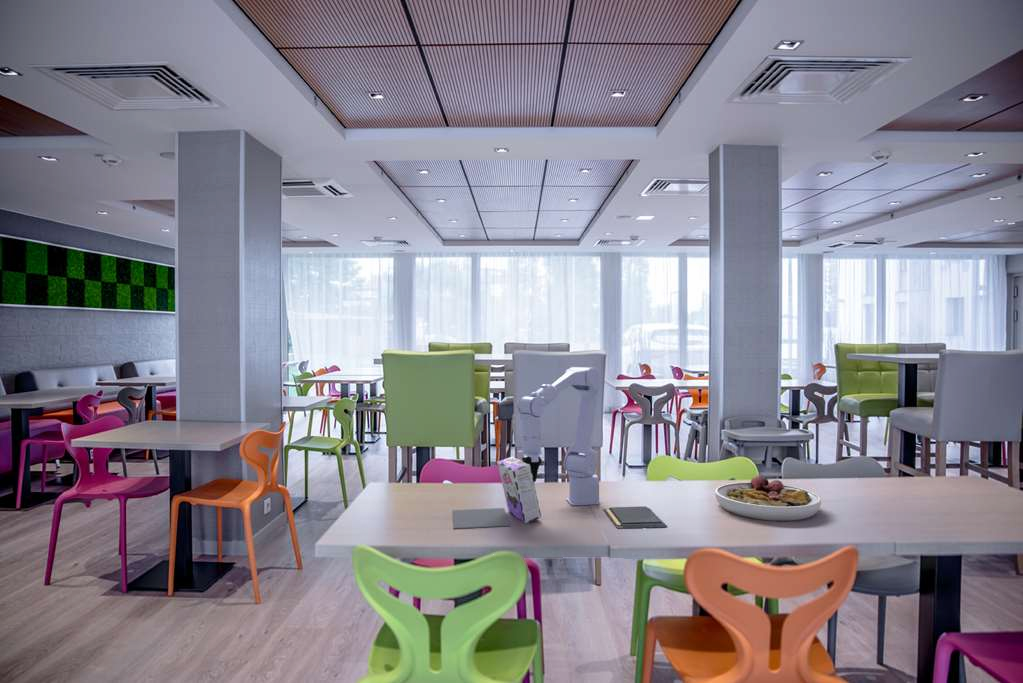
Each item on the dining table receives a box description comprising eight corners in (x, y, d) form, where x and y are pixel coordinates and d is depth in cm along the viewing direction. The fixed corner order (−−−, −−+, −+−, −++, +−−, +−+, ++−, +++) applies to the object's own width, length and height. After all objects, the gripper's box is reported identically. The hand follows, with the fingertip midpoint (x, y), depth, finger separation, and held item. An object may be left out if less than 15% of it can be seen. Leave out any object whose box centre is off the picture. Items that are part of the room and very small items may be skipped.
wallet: (668, 523, 168) (614, 524, 168) (668, 530, 168) (614, 531, 168) (650, 504, 188) (602, 505, 188) (650, 510, 188) (602, 511, 188)
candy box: (508, 511, 186) (496, 461, 185) (525, 505, 188) (513, 455, 187) (524, 524, 173) (511, 469, 172) (542, 517, 175) (530, 463, 174)
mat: (504, 509, 189) (504, 508, 189) (510, 526, 171) (510, 525, 171) (452, 511, 188) (452, 510, 188) (453, 529, 170) (453, 528, 170)
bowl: (834, 527, 169) (834, 499, 168) (722, 521, 175) (722, 494, 175) (805, 499, 198) (805, 475, 198) (710, 495, 204) (709, 472, 204)
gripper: (515, 433, 188) (515, 476, 188) (521, 440, 173) (521, 487, 173) (537, 432, 189) (538, 475, 189) (545, 440, 174) (545, 486, 174)
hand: (531, 481), depth 181 cm, fingers closed
